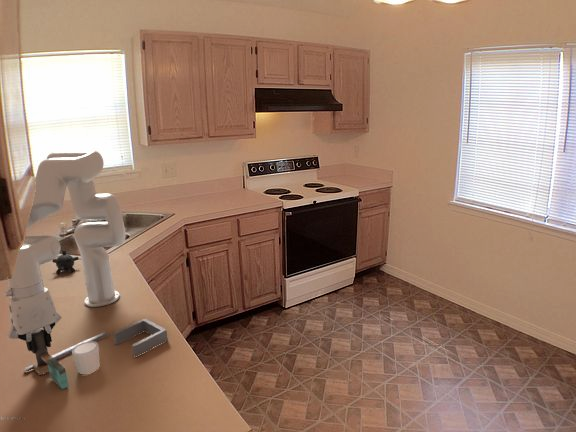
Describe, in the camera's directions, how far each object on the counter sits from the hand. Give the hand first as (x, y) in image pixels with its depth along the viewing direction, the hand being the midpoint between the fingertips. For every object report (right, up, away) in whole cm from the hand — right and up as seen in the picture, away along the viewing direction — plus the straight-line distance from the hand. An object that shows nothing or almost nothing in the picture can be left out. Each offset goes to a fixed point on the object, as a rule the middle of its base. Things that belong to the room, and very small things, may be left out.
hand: (40, 347), depth 112 cm
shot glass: (+13, -7, +2) cm, 15 cm away
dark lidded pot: (-33, +11, +74) cm, 82 cm away
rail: (+3, -5, +10) cm, 11 cm away
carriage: (+5, -8, -2) cm, 9 cm away
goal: (+23, -3, +14) cm, 27 cm away
